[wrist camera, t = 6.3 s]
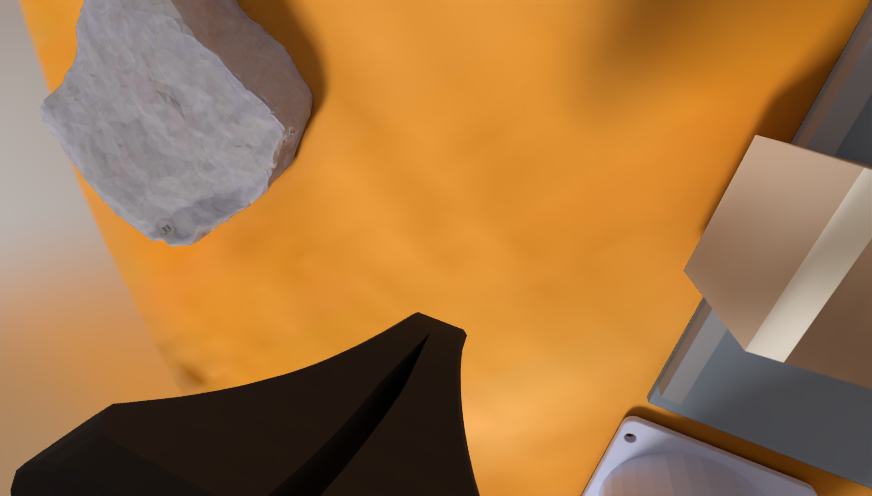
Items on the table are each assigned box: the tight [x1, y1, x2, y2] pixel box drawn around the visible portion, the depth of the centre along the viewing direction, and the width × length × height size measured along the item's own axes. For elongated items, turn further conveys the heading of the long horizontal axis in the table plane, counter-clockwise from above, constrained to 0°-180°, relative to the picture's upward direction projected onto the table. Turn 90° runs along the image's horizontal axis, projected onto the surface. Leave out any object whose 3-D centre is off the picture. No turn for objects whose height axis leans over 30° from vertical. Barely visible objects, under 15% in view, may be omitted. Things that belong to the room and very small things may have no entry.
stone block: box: [40, 0, 313, 247], centre depth 21 cm, size 12×5×10 cm
